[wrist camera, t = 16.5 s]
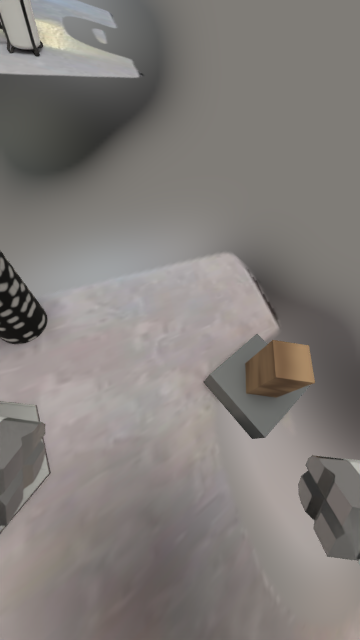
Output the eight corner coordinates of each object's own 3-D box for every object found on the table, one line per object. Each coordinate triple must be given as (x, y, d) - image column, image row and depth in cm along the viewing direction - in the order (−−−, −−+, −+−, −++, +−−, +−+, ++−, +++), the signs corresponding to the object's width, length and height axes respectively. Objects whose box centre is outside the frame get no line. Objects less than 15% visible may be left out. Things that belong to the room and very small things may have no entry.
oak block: (273, 367, 41) (308, 345, 32) (276, 397, 39) (314, 382, 30) (245, 363, 41) (272, 340, 32) (246, 393, 38) (275, 377, 30)
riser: (293, 392, 45) (309, 386, 40) (252, 438, 40) (265, 437, 36) (246, 344, 48) (257, 333, 44) (203, 381, 44) (210, 374, 39)
